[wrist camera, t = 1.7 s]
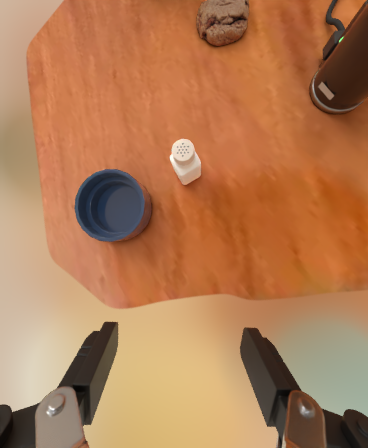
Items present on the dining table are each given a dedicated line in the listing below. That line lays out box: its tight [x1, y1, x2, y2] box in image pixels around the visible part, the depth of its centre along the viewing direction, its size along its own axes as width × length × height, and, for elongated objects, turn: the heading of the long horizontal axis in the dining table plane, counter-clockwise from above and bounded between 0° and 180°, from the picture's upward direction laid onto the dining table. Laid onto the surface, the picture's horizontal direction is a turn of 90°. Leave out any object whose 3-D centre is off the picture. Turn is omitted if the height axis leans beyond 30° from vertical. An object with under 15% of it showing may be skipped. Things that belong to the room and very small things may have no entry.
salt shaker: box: [170, 139, 201, 185], centre depth 29 cm, size 4×4×10 cm
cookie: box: [197, 0, 249, 46], centre depth 34 cm, size 10×11×3 cm
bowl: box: [75, 169, 152, 242], centre depth 33 cm, size 12×12×5 cm
